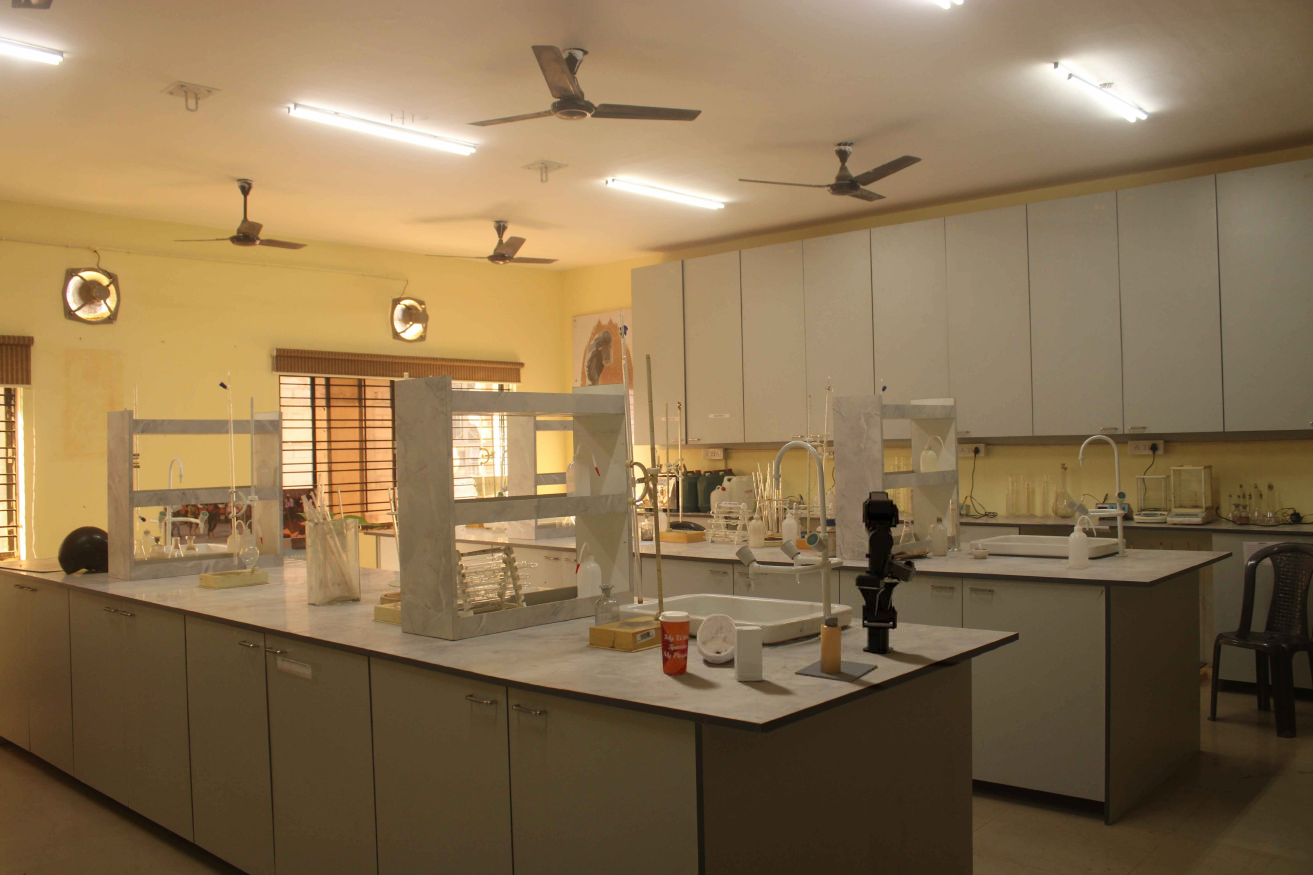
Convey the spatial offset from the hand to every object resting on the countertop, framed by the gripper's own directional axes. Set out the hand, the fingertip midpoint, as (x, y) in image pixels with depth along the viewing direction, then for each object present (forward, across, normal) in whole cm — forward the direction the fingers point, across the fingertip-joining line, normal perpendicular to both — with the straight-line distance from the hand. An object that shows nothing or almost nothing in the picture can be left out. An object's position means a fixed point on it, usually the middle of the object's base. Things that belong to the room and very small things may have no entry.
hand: (879, 612), depth 237 cm
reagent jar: (+13, -15, +7) cm, 21 cm away
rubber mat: (+13, -11, +7) cm, 18 cm away
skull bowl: (+14, -16, +37) cm, 42 cm away
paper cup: (+14, -34, +39) cm, 53 cm away
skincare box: (+14, -31, +21) cm, 40 cm away
